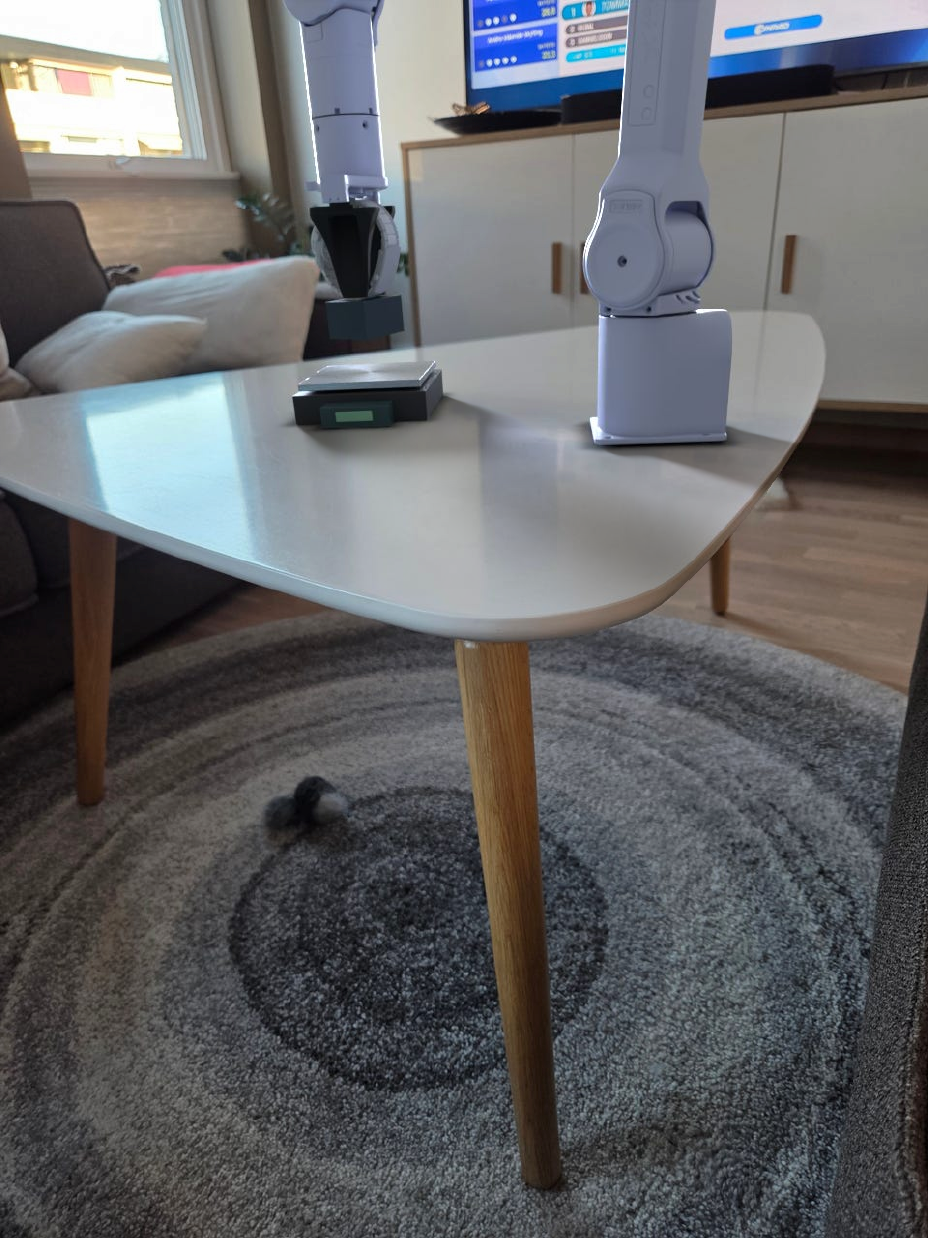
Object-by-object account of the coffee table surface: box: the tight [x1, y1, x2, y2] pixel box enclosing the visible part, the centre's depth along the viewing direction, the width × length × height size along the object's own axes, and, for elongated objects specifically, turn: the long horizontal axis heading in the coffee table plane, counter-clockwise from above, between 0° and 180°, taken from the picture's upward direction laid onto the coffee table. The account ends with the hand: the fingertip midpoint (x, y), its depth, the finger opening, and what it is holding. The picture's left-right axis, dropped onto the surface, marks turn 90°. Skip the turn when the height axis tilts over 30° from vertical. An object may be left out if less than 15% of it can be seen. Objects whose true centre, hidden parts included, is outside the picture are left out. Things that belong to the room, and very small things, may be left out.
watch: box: [310, 199, 405, 341], centre depth 72 cm, size 6×8×11 cm
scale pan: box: [297, 360, 437, 392], centre depth 77 cm, size 11×11×1 cm
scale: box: [291, 368, 444, 430], centre depth 77 cm, size 12×14×2 cm
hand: (363, 294), depth 74 cm, fingers closed on watch, 6 cm apart
